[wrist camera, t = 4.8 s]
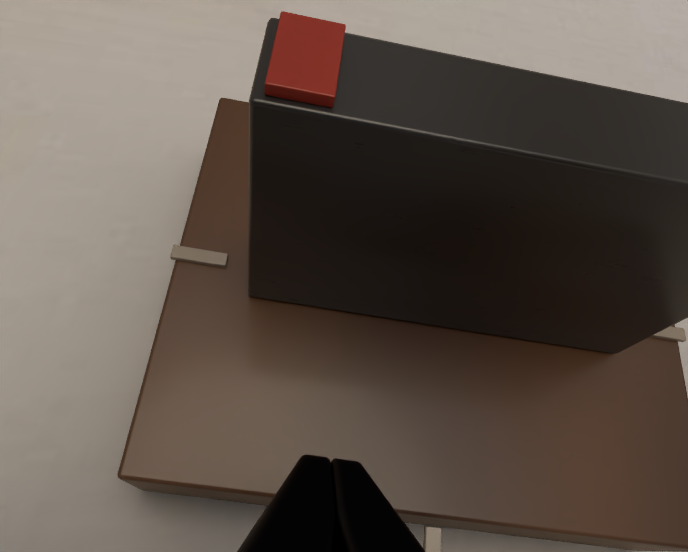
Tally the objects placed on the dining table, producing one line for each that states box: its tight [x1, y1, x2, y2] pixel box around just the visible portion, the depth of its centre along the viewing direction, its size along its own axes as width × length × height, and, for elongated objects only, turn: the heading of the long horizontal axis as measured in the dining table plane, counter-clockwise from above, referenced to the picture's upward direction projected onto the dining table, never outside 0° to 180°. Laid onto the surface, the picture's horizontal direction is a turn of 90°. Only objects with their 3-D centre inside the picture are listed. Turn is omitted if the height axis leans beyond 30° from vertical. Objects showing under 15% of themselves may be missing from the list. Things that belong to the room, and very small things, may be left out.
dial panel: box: [118, 98, 688, 552], centre depth 16 cm, size 14×14×3 cm
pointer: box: [248, 12, 688, 354], centre depth 12 cm, size 10×2×7 cm, turn 84°
